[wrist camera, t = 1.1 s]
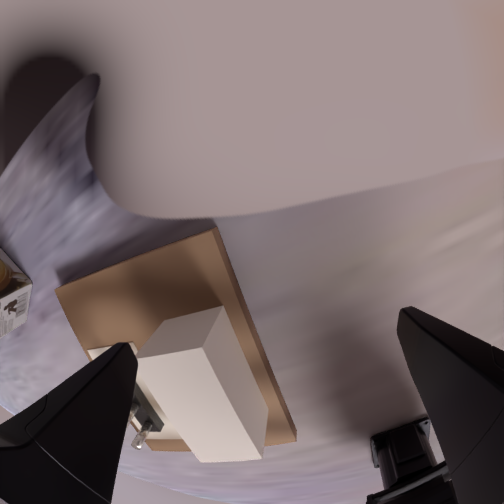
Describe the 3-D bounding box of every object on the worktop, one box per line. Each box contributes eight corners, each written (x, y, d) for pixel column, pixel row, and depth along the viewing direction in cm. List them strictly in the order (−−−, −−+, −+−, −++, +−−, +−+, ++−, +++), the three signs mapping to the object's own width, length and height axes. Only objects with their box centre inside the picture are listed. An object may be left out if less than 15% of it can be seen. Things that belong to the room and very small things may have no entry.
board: (296, 430, 24) (296, 442, 22) (156, 441, 27) (151, 451, 25) (217, 226, 20) (211, 230, 18) (64, 284, 23) (53, 290, 21)
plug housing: (268, 409, 22) (262, 458, 16) (215, 416, 23) (200, 462, 17) (223, 305, 20) (202, 347, 15) (164, 320, 21) (131, 359, 15)
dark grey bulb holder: (164, 423, 24) (149, 454, 20) (150, 423, 24) (134, 452, 20) (128, 367, 22) (105, 395, 18) (114, 368, 23) (90, 396, 19)
